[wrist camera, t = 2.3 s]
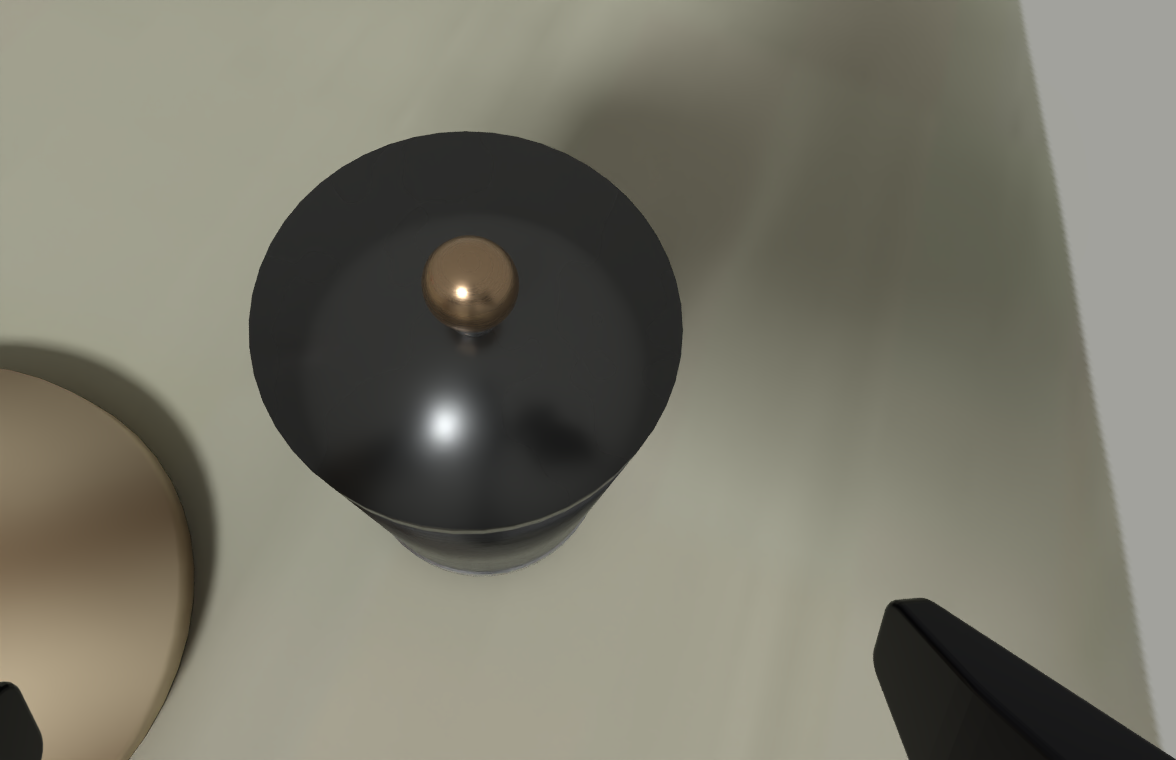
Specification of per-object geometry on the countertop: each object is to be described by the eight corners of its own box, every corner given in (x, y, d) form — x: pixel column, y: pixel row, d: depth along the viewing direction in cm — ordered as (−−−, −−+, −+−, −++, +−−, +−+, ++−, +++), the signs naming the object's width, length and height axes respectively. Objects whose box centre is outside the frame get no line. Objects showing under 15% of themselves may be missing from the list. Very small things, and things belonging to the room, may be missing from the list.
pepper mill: (604, 568, 20) (749, 498, 8) (375, 587, 19) (179, 537, 7) (579, 297, 22) (666, -56, 10) (375, 303, 21) (227, -70, 10)
